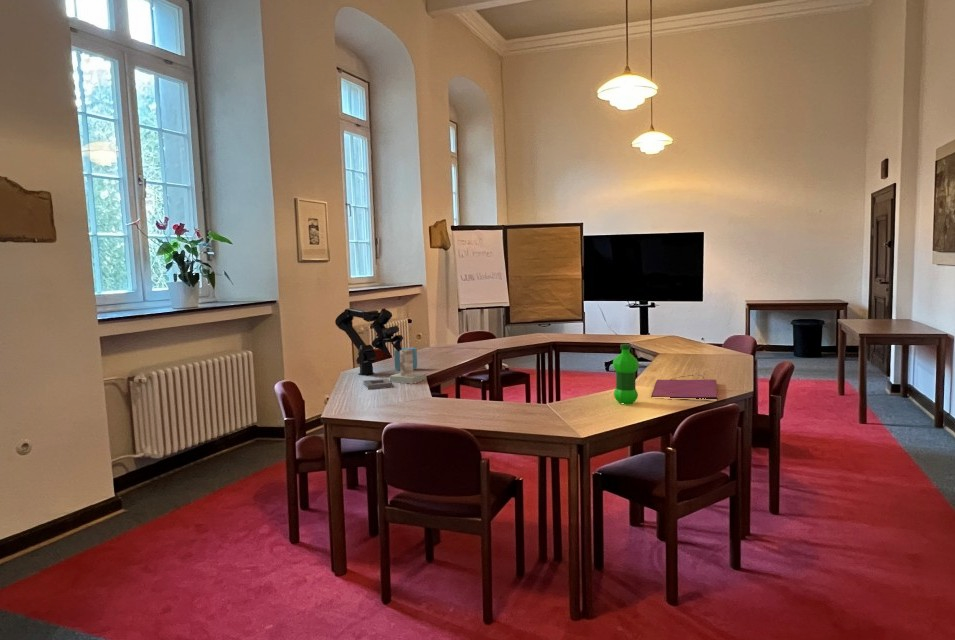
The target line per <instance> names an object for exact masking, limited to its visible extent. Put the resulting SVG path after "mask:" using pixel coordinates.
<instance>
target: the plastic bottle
mask: <svg viewBox="0 0 955 640" xmlns="http://www.w3.org/2000/svg"><path fill="white" fill-rule="evenodd" d="M619 349H620V350H621V353H620V354H618V355H617V356H616V357H615V358H614V359H613V360H612V367H613V369H614V371H615V382H616V383H615V386H616V387H615V389H614V392H613V397H614V399H615V400H616V401H617V402H618V403H619V404H620V403H624V404H631V403H632V404H633V403H635V402H636V401H637V400H638V398H639V397H638V396H639V393H638V391H637V388H636V372H637V371H638V370H639V367H640V366H639V364H640V363H639V361H638V359H637V358H636V357H635V356H634V355H633V354H632V353H631V352H630V350H632V344H630V343H621V344H620V348H619ZM632 404H631V405H632Z"/></svg>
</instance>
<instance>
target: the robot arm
mask: <svg viewBox="0 0 955 640" xmlns="http://www.w3.org/2000/svg"><path fill="white" fill-rule="evenodd" d="M354 318H359V319H362V320H363V321H366V322H367V323H370V322H372V323H370V326H369V329H370V330H372V329H373V330H374V331H375V336H376V337H374V339H372V341H371V344H366V342H364V340H363V339H362V337H361V336H360V334H359V333H358V332H357V331H356V329H355V328H354V326H353V320H354ZM392 318H393V314H392V312H391V311H389V310H388V309H386V308H385V307H384V308H381V310H380V312H379V310H376V309H375V310H374V309H373V310H364V309H363V310H362V309H357V308H355V307H354V308H353V307H348V308H345V309H344V311H343V312H341V313H340V314H339V315H338V316H337V317H336V318H335V320H334V321H335V322H334V323H335V326H336V327H337V328H338V329H339V330H341V331H342V332H343V331H344V332H345V334H346V335H347V336H348V338H349V339H350V340H351V342H352V343H353V345H354V346H355V348H356V350H357V356H358V357H357V358H356V360H355V361H356V364H358V365H359V373H358V374H362V375H361V376H369V375H372V374H375V372H374V366H373V363H375V362H376V361H375V360H376V357H377V353H376V351H375V350H376V349H378V350H380V351H382V352H383V353H385V354H386V355H388V356H390V354H391V352H390V350H389V348H388V347H387V344H388V343H390V344H391V345H392V347H393V348H394V349H395V350H397V351H398V352H400V350H402V348H403V347H402V345H401V343H402V341H403V340H404V336H403V334H396V333H399V331H400V328H399V326H398V325H394V326H390V327H386V325H387V324H388V322H389V321H390V320H391V319H392Z"/></svg>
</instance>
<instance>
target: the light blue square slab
mask: <svg viewBox="0 0 955 640" xmlns="http://www.w3.org/2000/svg"><path fill="white" fill-rule="evenodd" d="M401 348H402V350H404V349H410V350H412V356H413V371H415V370H416V369H417V368H418V352H417V351H418V350H417V348H416V347H401ZM393 355H394V369H395V370H396V371H401V370H400V352H398V351H397V350H396V349H395V350H394V354H393ZM414 369H415V370H414Z"/></svg>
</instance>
